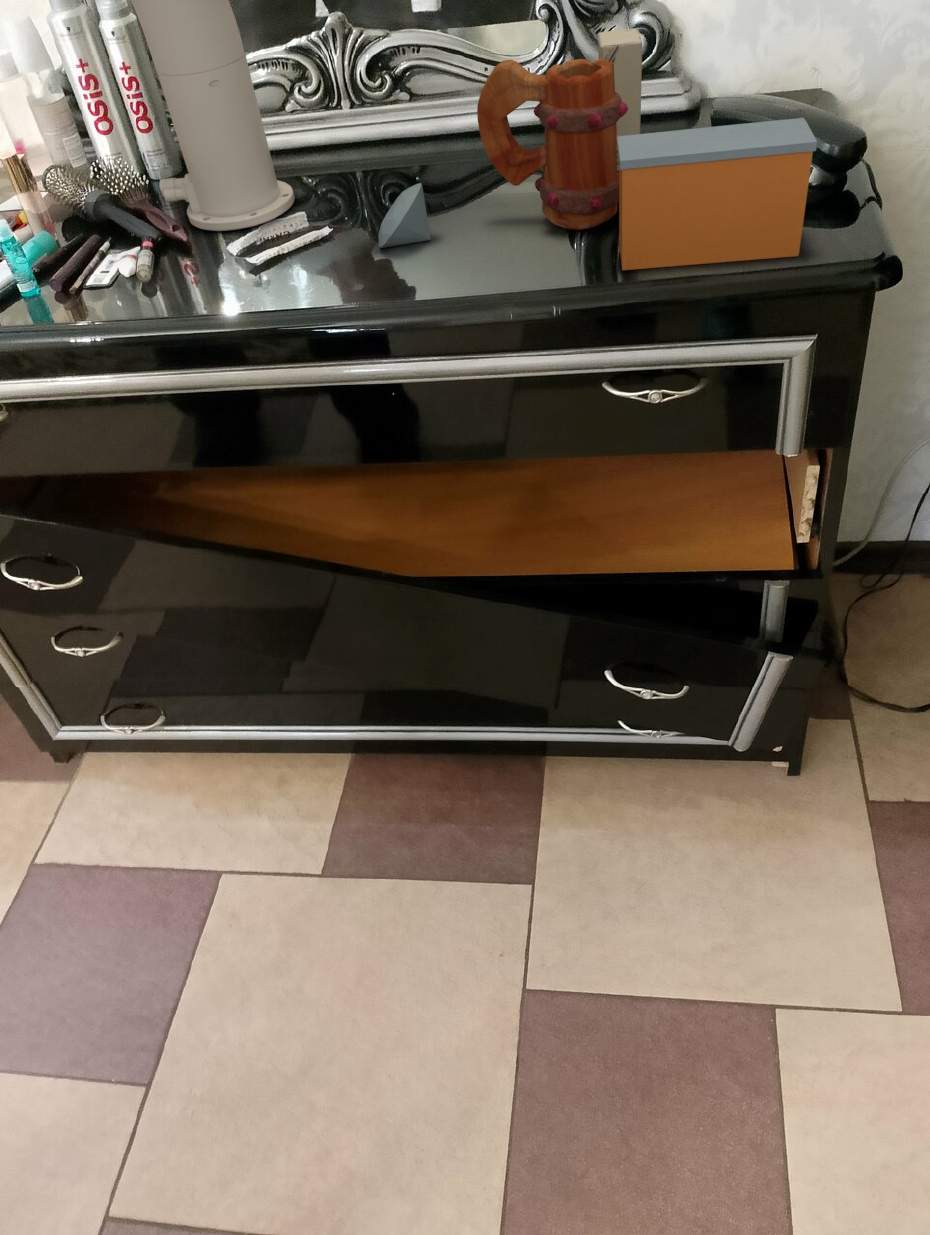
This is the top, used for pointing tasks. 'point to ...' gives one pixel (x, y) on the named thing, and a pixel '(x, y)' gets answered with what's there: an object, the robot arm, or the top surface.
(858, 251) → the top surface
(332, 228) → the top surface
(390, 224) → the gemstone
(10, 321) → the top surface
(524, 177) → the mug
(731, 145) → the container
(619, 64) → the box
